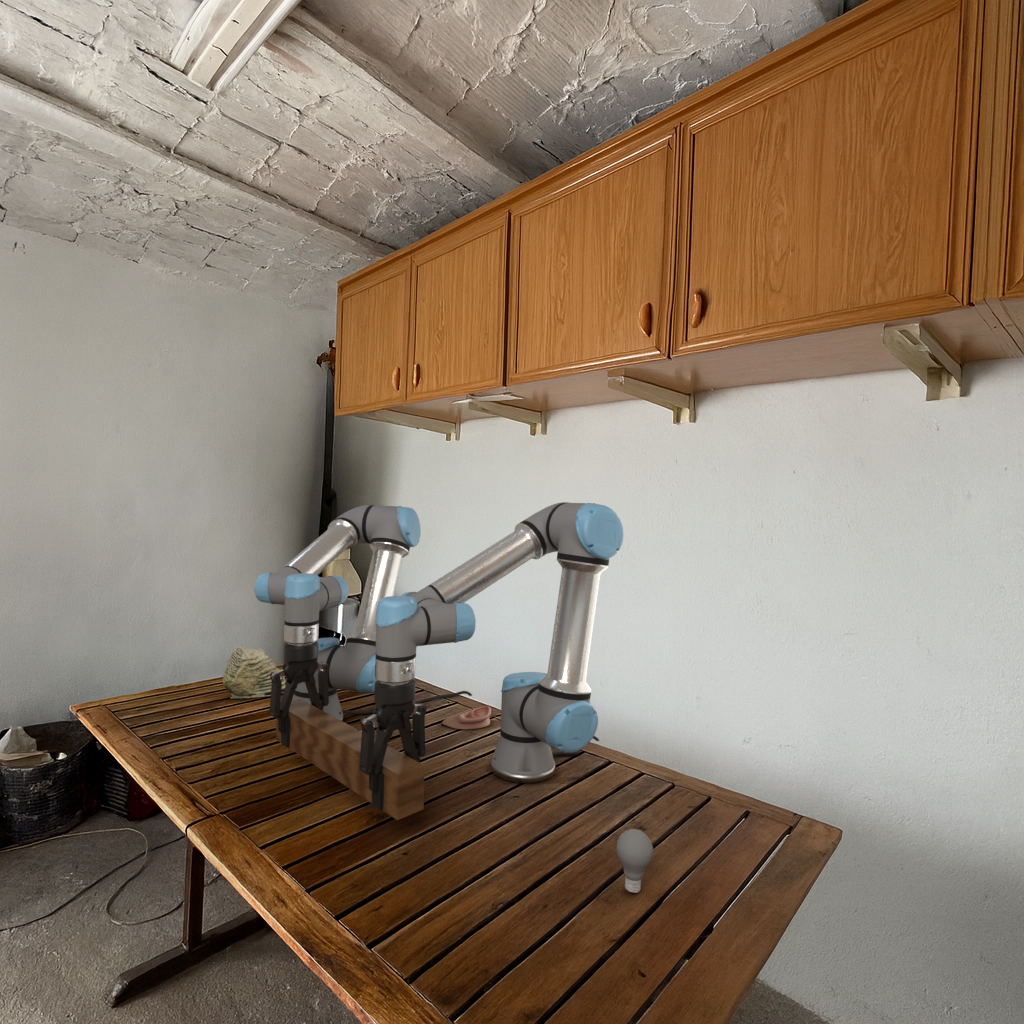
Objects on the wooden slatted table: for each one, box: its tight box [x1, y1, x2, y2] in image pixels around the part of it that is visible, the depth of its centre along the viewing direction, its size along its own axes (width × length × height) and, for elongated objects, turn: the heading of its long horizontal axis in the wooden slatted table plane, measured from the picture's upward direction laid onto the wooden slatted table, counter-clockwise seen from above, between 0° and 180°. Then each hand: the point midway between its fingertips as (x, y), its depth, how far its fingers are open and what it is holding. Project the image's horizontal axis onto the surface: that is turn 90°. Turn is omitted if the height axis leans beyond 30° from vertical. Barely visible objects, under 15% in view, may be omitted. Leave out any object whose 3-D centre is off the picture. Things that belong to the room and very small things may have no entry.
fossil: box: [222, 646, 286, 699], centre depth 198 cm, size 9×18×15 cm, turn 132°
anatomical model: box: [441, 705, 492, 730], centre depth 181 cm, size 13×4×12 cm
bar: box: [275, 699, 426, 821], centre depth 133 cm, size 49×6×8 cm, turn 45°
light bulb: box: [615, 828, 654, 894], centre depth 106 cm, size 6×6×10 cm
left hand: (299, 741), depth 146 cm, fingers closed on bar, 6 cm apart
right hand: (392, 800), depth 120 cm, fingers closed on bar, 6 cm apart
